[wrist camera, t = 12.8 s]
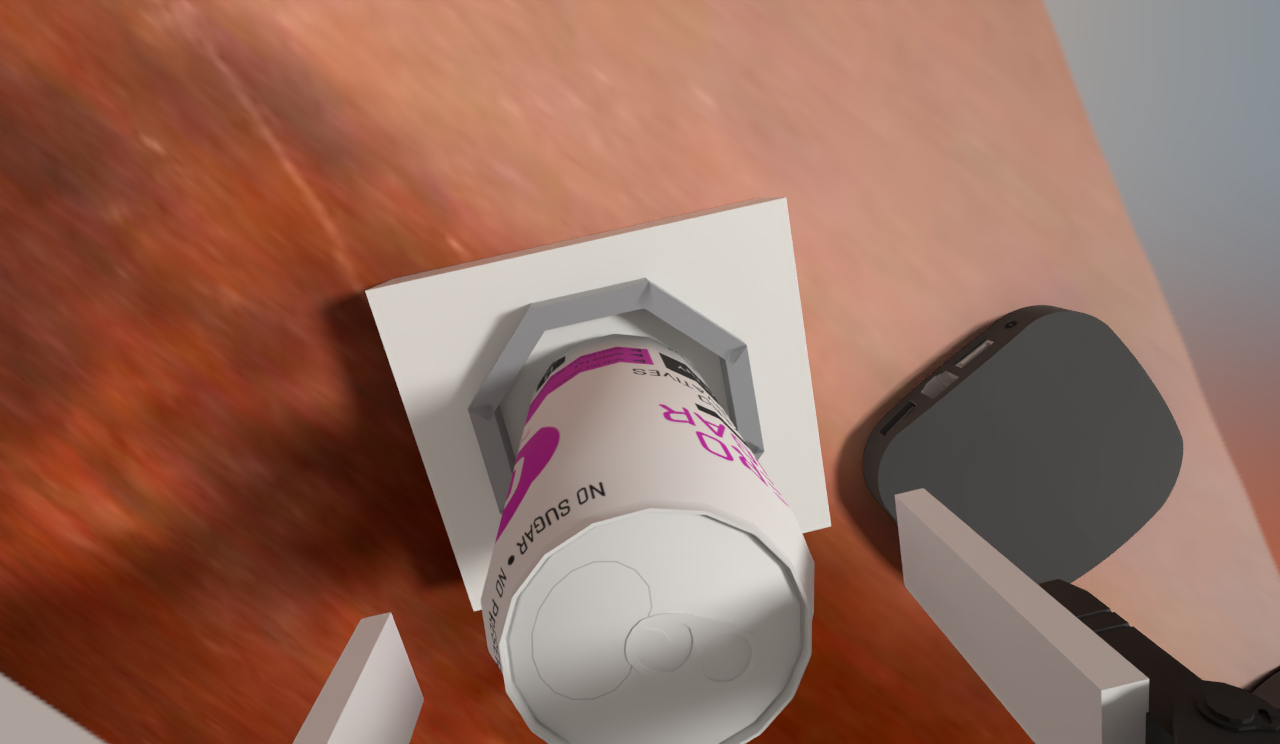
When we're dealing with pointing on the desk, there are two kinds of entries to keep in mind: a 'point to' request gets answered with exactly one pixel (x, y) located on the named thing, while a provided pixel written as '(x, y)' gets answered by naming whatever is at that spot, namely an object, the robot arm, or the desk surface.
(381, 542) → the desk surface
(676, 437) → the supplement can
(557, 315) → the mount base
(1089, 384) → the media streaming box
